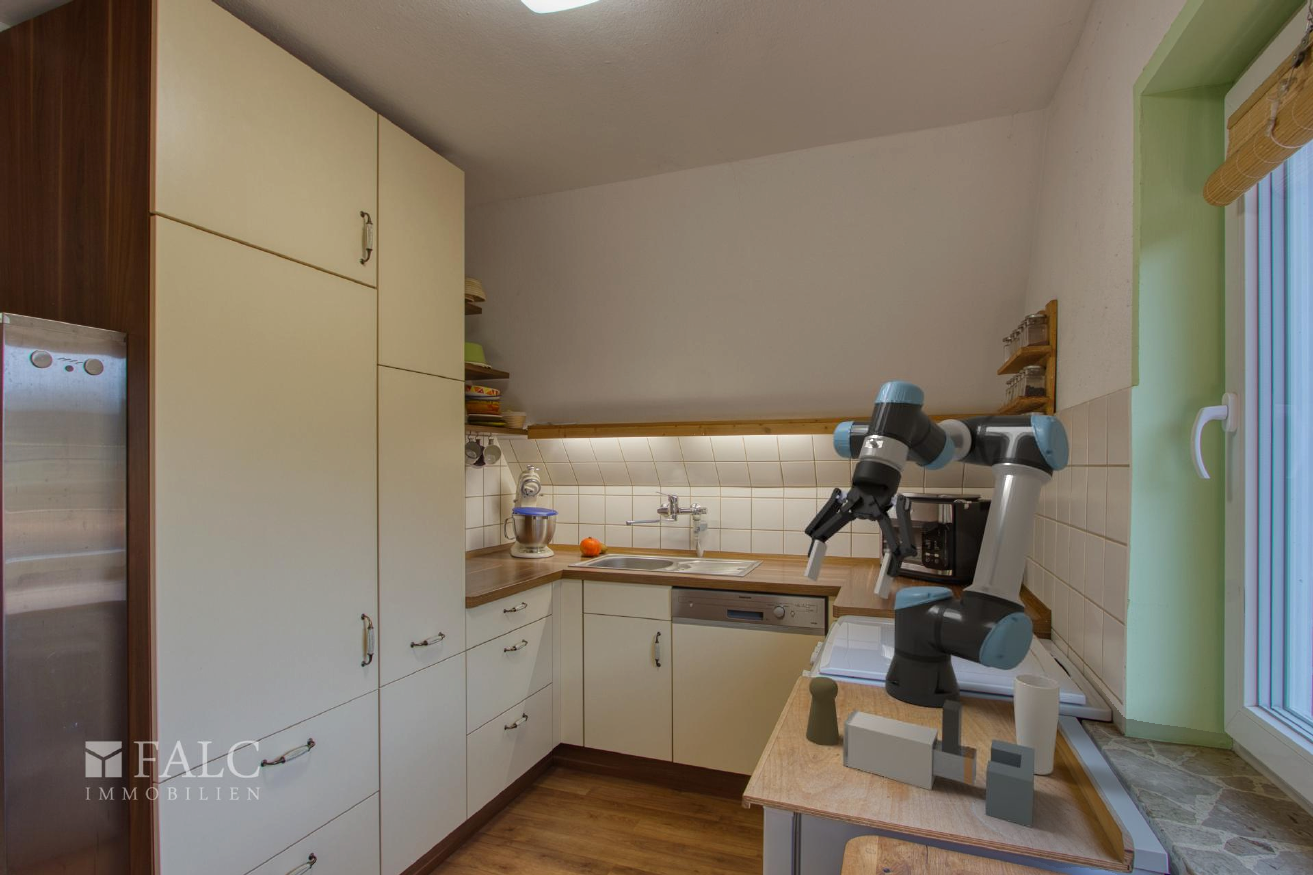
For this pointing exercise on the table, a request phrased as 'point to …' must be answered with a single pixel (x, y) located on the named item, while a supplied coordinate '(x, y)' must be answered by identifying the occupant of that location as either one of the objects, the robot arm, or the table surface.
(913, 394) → the robot arm
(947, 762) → the sliding bolt
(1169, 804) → the table surface
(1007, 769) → the socket
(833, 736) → the olive knob-topped post
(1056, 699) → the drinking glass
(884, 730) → the sleeve
